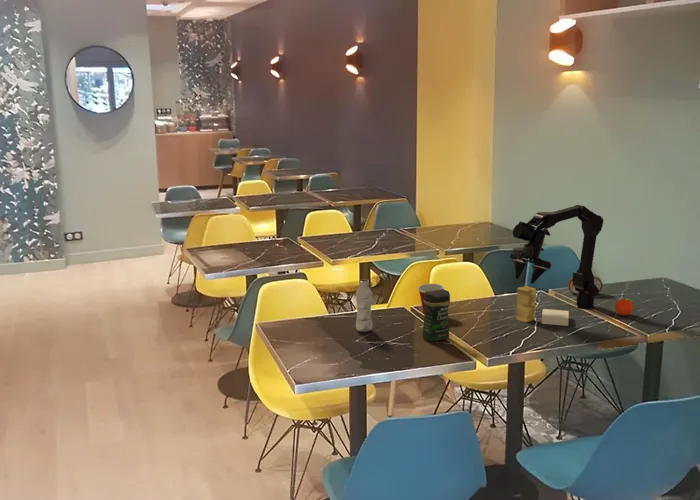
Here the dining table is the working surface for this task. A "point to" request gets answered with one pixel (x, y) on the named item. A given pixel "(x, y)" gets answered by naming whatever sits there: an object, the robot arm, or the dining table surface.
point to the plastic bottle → (364, 306)
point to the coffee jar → (436, 315)
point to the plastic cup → (426, 288)
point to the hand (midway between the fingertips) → (524, 281)
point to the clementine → (624, 306)
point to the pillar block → (525, 303)
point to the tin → (572, 289)
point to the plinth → (555, 317)
